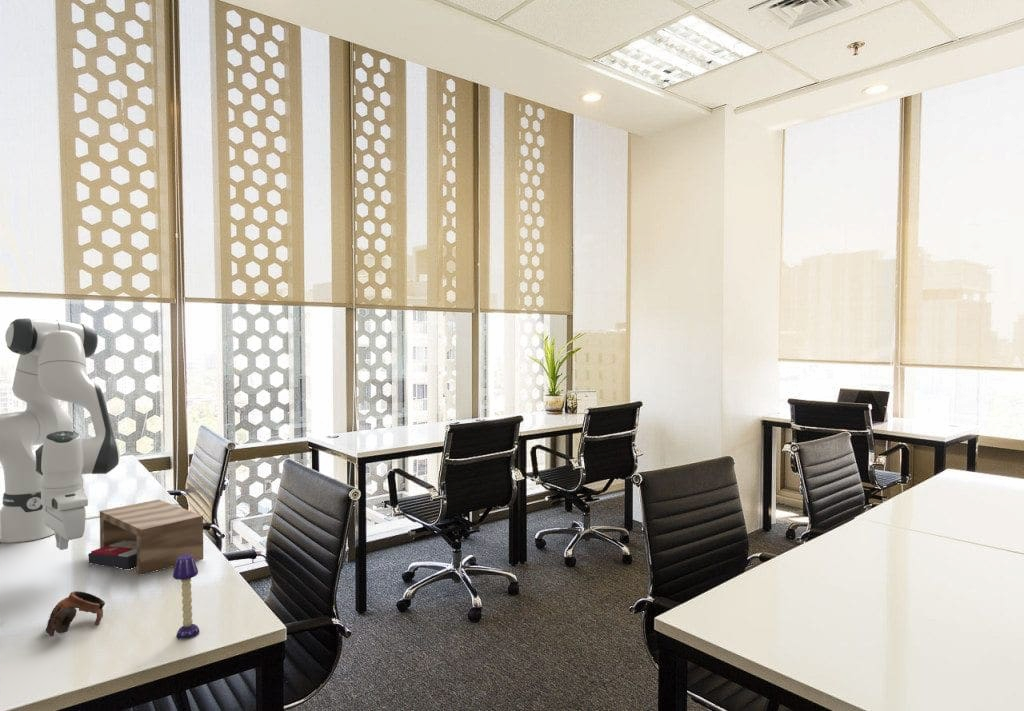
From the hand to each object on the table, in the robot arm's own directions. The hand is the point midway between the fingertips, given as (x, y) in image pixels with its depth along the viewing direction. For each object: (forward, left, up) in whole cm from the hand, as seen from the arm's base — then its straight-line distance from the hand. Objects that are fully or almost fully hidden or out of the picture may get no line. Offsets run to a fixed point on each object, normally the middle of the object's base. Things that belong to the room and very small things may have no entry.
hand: (62, 548), depth 158 cm
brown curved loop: (+35, -8, -8) cm, 37 cm away
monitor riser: (+1, +21, -8) cm, 22 cm away
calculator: (-1, +15, -8) cm, 17 cm away
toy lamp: (+57, +5, -8) cm, 58 cm away
